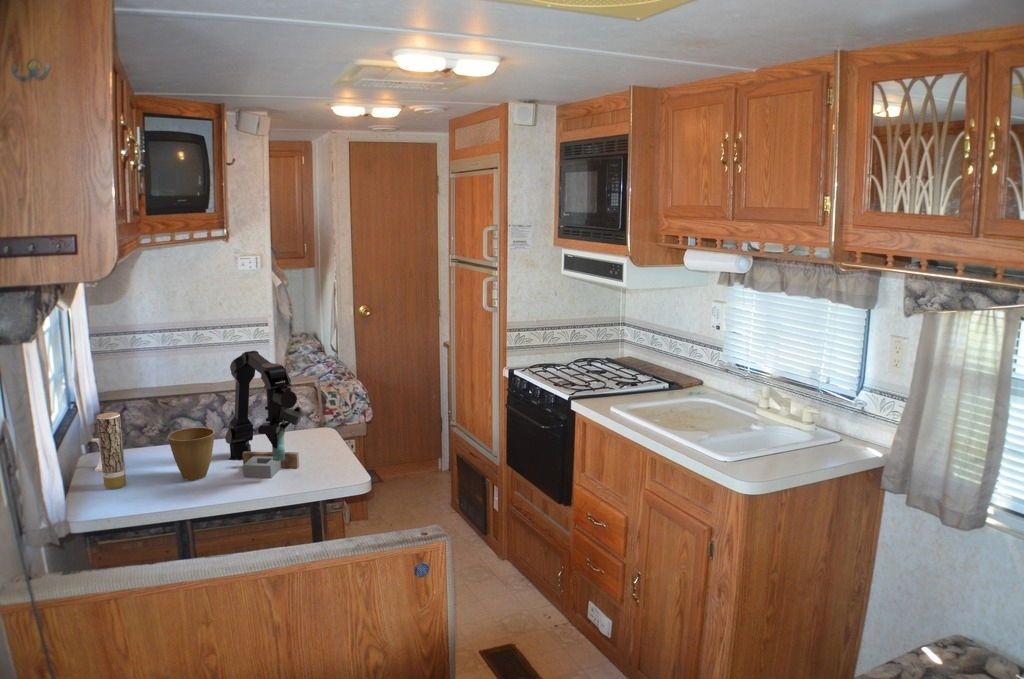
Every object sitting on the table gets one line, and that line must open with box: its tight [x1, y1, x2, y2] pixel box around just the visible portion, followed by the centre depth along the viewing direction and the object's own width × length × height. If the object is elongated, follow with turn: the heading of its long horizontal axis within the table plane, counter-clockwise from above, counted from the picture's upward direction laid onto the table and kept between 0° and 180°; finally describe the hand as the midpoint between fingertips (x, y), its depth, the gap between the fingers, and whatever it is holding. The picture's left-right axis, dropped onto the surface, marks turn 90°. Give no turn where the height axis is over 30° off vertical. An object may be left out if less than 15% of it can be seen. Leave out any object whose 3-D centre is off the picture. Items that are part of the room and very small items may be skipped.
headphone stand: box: [90, 438, 103, 473], centre depth 279 cm, size 5×6×12 cm
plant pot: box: [167, 426, 215, 482], centre depth 270 cm, size 15×15×16 cm
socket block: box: [241, 456, 282, 479], centre depth 275 cm, size 10×10×4 cm
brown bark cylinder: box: [96, 411, 127, 490], centre depth 261 cm, size 7×7×25 cm
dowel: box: [271, 427, 286, 461], centre depth 266 cm, size 4×4×11 cm
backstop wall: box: [242, 451, 300, 470], centre depth 280 cm, size 20×2×6 cm, turn 86°
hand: (278, 446), depth 266 cm, fingers closed on dowel, 4 cm apart
